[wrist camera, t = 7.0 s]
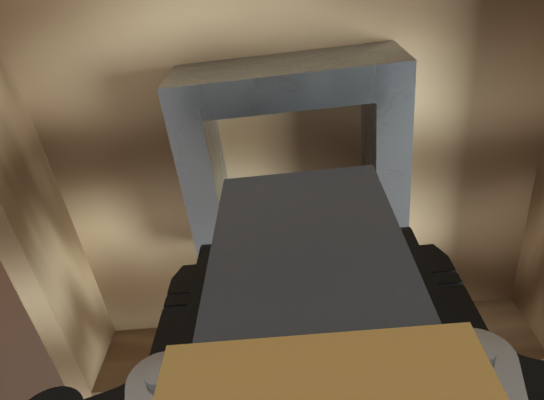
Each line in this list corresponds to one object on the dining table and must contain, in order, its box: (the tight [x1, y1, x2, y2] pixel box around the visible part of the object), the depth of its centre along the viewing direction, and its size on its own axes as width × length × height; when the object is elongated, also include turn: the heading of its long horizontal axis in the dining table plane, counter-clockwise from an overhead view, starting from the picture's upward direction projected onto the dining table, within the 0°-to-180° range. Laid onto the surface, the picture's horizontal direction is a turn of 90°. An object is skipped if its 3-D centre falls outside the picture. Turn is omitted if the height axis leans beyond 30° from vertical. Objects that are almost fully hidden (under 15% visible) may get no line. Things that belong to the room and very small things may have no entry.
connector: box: [153, 165, 509, 400], centre depth 10 cm, size 5×5×8 cm
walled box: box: [0, 0, 544, 399], centre depth 17 cm, size 20×22×4 cm
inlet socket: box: [157, 40, 417, 257], centre depth 17 cm, size 8×8×3 cm
